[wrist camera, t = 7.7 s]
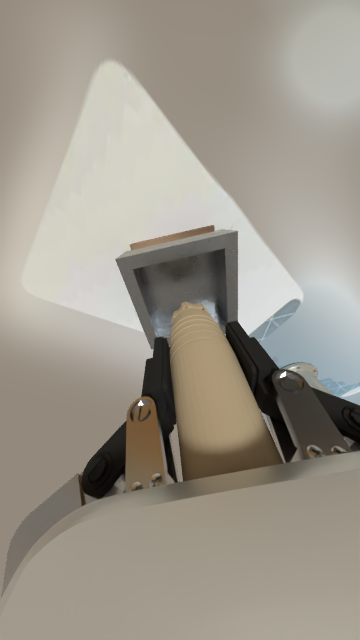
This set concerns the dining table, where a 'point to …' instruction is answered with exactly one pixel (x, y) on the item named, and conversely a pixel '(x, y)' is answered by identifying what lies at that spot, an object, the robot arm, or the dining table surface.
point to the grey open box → (183, 279)
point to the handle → (214, 401)
